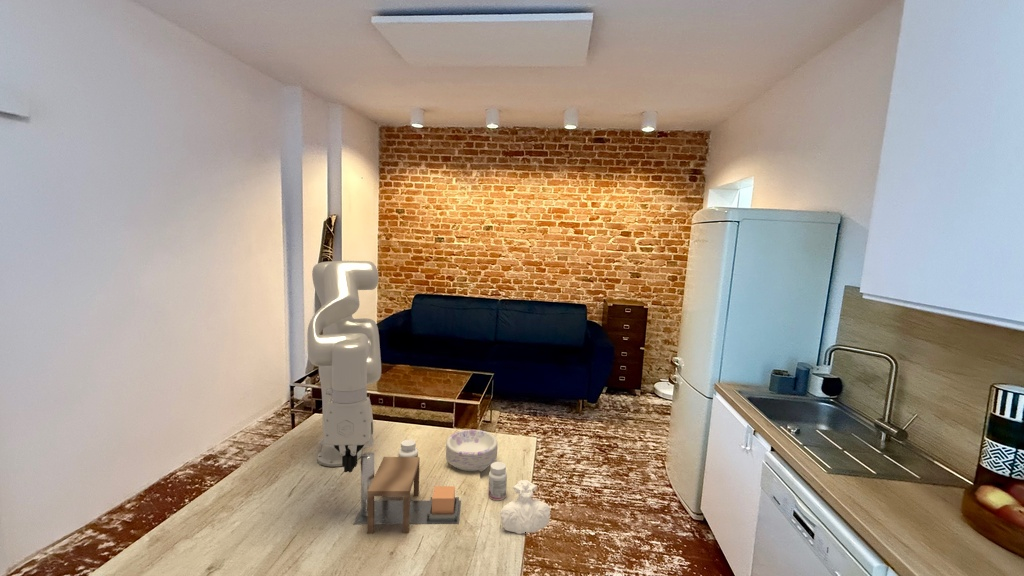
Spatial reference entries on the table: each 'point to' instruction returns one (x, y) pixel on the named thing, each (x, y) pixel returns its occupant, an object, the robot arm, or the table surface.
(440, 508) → the block
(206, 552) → the table surface
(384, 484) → the wooden table
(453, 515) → the metal rod stand
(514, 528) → the white lumpy bag
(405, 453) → the supplement bottle
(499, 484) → the pill bottle
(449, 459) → the paper bowls
